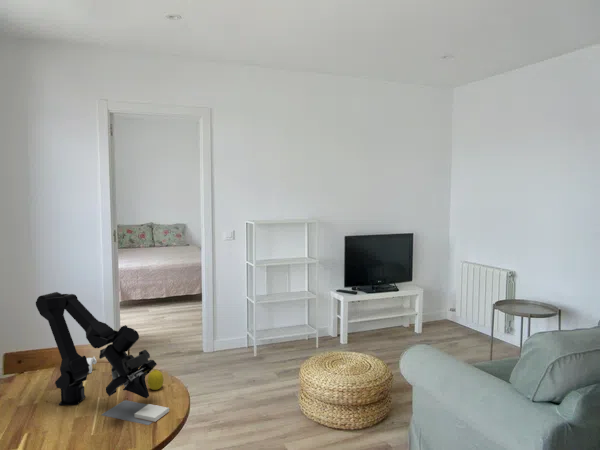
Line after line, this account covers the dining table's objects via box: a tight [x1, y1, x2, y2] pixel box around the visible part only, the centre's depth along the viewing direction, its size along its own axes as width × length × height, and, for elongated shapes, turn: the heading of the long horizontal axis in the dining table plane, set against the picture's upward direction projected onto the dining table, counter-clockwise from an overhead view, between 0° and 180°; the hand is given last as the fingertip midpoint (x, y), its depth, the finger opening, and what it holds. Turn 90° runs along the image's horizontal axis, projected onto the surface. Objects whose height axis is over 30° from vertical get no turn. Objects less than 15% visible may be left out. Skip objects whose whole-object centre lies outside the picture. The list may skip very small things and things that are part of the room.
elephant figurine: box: [86, 355, 98, 374], centre depth 182 cm, size 7×8×6 cm
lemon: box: [147, 369, 164, 391], centre depth 164 cm, size 6×6×8 cm
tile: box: [134, 403, 170, 423], centre depth 145 cm, size 2×7×8 cm
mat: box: [100, 399, 171, 426], centre depth 147 cm, size 19×11×1 cm, turn 70°
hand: (147, 397), depth 145 cm, fingers closed
